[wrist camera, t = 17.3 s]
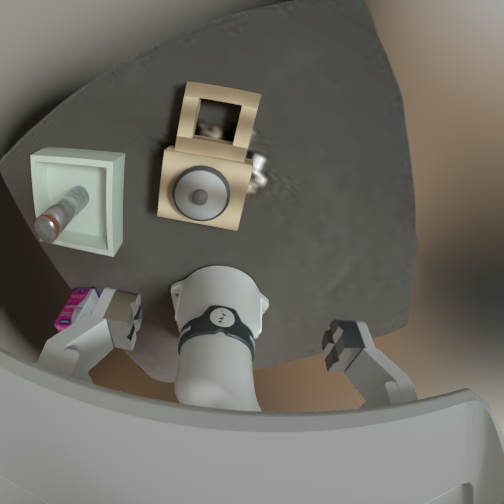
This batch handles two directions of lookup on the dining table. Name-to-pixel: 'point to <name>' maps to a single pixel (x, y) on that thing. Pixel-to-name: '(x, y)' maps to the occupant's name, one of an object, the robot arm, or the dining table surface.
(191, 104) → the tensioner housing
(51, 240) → the lock pin
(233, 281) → the robot arm
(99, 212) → the tray
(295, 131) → the dining table surface
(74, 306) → the supplement box
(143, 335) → the dining table surface
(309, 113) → the dining table surface
